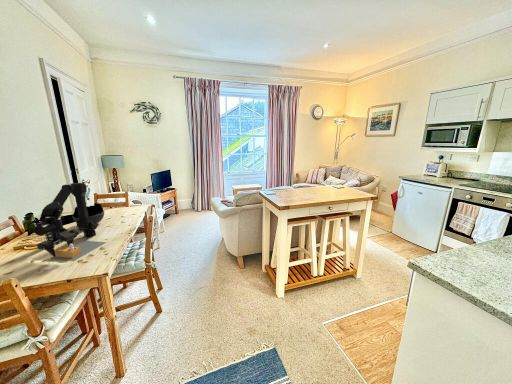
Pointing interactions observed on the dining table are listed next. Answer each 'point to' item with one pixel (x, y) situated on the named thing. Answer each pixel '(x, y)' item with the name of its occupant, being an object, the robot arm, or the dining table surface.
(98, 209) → the coal bowl
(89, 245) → the keeper board
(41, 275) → the dining table surface
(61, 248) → the orange rectangular block
